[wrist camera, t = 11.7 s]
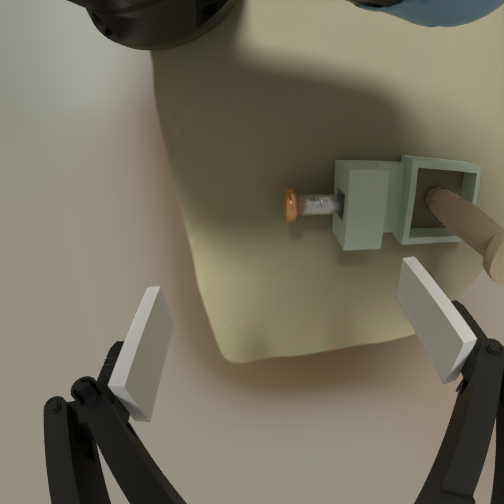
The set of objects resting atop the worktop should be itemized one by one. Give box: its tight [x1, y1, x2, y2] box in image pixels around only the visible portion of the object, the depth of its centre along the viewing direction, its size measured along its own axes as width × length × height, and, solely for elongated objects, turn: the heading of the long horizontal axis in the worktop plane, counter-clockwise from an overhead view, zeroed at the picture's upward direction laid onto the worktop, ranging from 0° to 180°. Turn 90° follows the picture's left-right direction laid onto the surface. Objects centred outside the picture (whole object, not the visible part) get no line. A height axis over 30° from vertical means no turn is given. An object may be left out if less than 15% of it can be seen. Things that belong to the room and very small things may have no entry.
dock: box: [332, 155, 482, 251], centre depth 28 cm, size 10×18×5 cm, turn 93°
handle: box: [425, 186, 504, 286], centre depth 24 cm, size 5×6×15 cm
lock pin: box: [283, 189, 345, 222], centre depth 29 cm, size 3×7×3 cm, turn 93°
